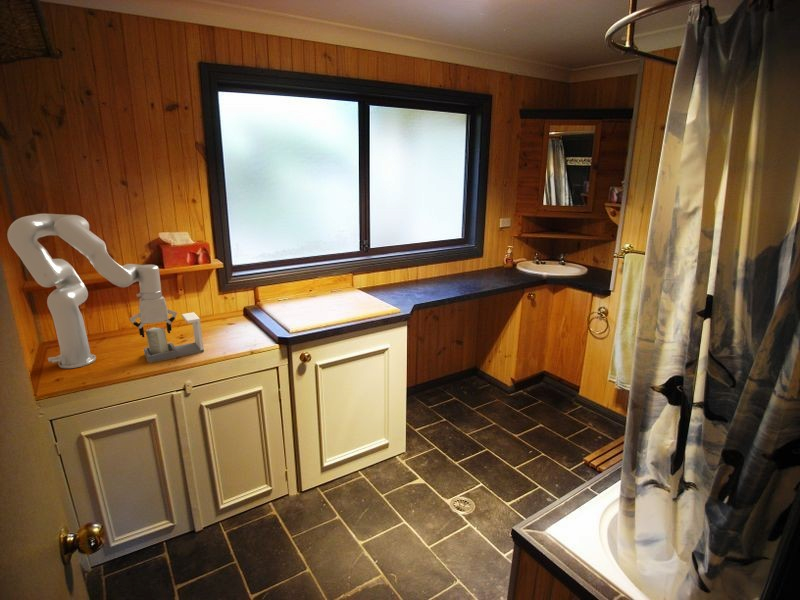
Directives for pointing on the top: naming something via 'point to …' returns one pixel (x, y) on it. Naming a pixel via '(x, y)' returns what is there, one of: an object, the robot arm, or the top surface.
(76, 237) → the robot arm
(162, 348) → the skincare box
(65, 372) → the top surface
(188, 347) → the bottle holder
